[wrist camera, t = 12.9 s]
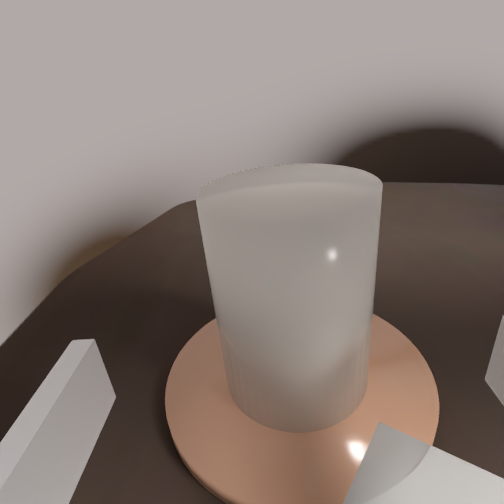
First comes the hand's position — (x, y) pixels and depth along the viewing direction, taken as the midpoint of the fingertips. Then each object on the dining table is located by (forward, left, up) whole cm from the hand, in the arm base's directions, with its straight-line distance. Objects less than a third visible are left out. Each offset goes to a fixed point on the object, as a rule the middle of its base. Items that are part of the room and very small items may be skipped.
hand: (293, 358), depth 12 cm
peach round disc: (+4, -5, -8) cm, 10 cm away
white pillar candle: (+4, -5, -7) cm, 9 cm away
